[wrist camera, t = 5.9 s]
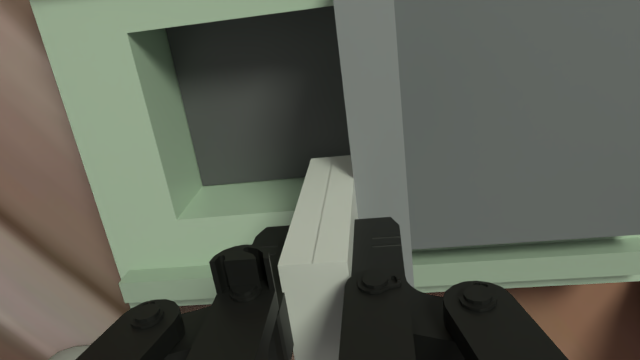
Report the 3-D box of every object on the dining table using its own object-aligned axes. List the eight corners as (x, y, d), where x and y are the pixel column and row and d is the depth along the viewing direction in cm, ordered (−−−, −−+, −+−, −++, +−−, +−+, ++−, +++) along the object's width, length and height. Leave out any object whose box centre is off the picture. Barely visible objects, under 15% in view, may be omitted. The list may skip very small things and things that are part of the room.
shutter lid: (338, -36, 16) (328, -39, 12) (675, -85, 15) (783, -104, 11) (368, 236, 20) (367, 301, 16) (639, 217, 18) (709, 283, 15)
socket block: (67, -76, 20) (-21, -89, 16) (648, -173, 17) (747, -224, 13) (164, 261, 26) (120, 322, 22) (608, 231, 23) (667, 295, 19)
